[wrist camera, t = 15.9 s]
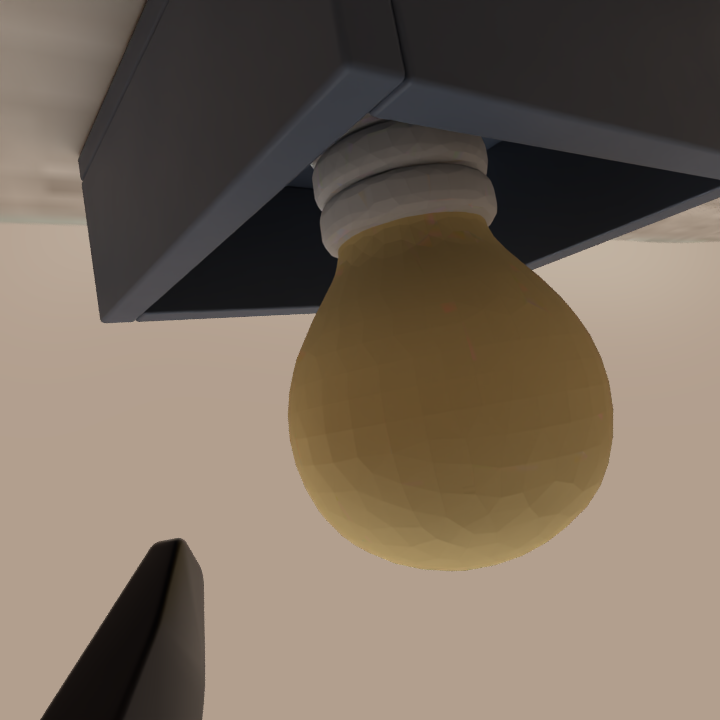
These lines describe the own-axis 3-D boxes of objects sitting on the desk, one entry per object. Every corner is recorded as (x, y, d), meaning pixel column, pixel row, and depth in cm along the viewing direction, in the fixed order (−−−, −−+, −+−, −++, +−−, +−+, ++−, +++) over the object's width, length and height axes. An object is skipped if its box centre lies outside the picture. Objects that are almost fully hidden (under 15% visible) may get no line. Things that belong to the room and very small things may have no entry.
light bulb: (193, 149, 14) (262, 592, 13) (337, -52, 9) (470, 651, 8) (408, 173, 18) (475, 522, 17) (598, 39, 13) (713, 531, 12)
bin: (77, 158, 15) (99, 324, 14) (277, -305, 6) (347, 64, 6) (412, 191, 21) (435, 308, 21) (741, -23, 13) (792, 170, 12)
